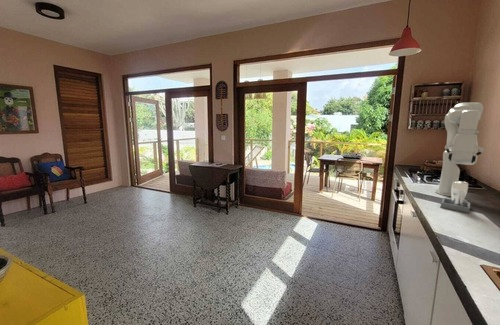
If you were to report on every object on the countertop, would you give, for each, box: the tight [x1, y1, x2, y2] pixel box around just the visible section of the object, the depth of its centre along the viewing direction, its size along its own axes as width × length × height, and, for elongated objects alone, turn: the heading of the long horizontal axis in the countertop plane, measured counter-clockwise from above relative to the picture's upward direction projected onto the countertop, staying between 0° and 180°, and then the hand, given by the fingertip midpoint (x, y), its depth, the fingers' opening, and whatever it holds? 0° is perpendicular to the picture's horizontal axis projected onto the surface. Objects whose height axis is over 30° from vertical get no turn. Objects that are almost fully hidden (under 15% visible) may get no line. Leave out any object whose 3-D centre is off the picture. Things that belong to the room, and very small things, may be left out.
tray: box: [439, 197, 471, 214], centre depth 139 cm, size 13×12×3 cm
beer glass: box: [450, 180, 469, 207], centre depth 138 cm, size 7×7×15 cm
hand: (460, 161), depth 138 cm, fingers open, 9 cm apart
